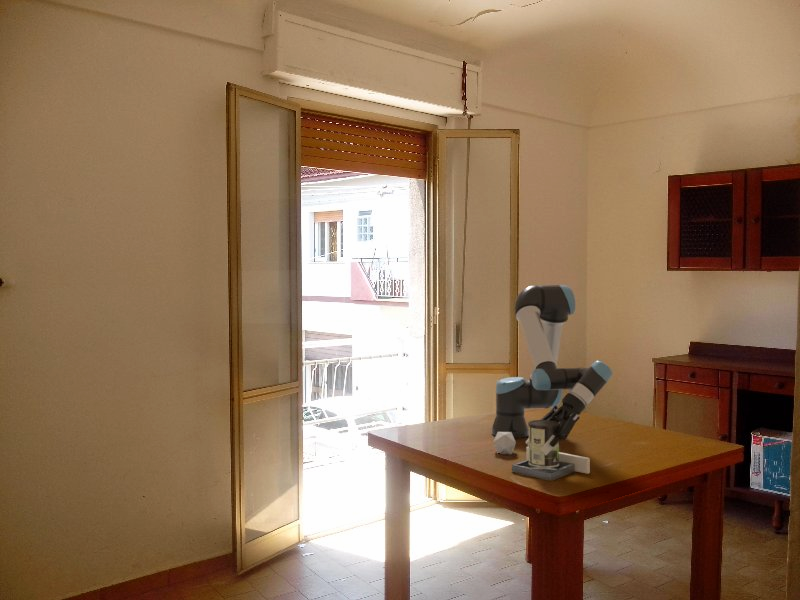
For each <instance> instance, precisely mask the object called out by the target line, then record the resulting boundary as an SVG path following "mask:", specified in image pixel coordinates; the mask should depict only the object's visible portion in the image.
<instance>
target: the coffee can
mask: <svg viewBox="0 0 800 600" xmlns="http://www.w3.org/2000/svg"><path fill="white" fill-rule="evenodd" d="M559 423H560V422H559ZM559 423H558V422H555V421H550V420H541V419H536V420H535V419H534V420H530V421H528V422H527V426H528V430H529V435H528V438H529V465H531V466H533V467H538V468H554V467H558V466H559V452H560V440H559V441H558V443H557V444H556V445H555V446H554V447H553V448H552V449H551V451H550V452H549V453H548V454H547V455H545V454H544V453H543V452H542V451H541V450H540V449H541V448H542V447H543V446H544V444H545V443H546V442H547V441H548V440H549V439H550V437H551V436H552V435H554V434H553V433H556V431H557V428H558V426H559ZM554 436H555V435H554Z"/></svg>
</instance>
